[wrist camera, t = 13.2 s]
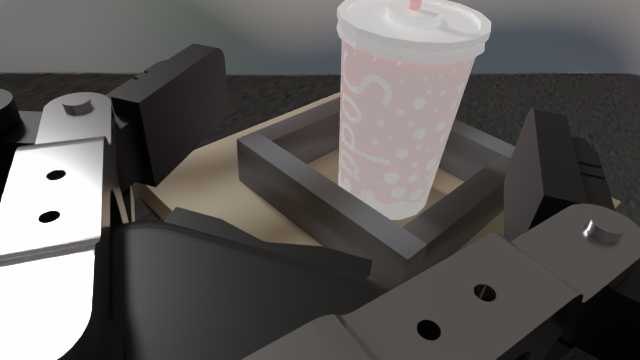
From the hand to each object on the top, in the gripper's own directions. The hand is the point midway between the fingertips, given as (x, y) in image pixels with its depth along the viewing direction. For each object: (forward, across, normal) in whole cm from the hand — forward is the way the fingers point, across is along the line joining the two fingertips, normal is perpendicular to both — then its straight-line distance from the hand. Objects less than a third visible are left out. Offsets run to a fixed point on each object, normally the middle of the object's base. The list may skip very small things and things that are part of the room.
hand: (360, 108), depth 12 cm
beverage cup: (+8, 0, +9) cm, 12 cm away
